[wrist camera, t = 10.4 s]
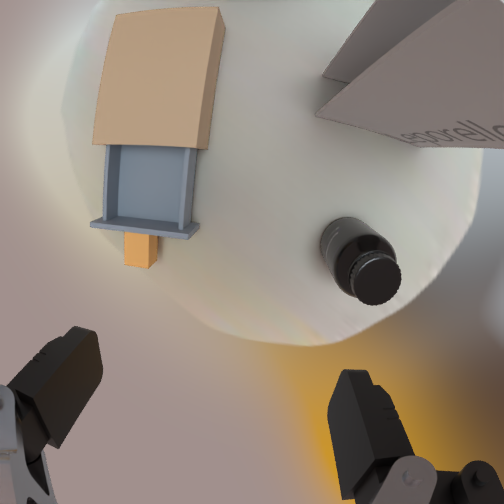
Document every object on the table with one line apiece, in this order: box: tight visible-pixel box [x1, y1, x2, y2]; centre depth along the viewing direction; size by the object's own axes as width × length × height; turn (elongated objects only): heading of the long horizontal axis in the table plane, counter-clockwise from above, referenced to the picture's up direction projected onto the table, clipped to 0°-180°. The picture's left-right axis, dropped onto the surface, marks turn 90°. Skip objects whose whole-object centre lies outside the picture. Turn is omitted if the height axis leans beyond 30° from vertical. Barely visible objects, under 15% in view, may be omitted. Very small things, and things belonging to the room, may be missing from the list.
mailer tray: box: [90, 145, 199, 269], centre depth 32 cm, size 20×12×5 cm, turn 173°
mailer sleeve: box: [92, 7, 225, 150], centre depth 28 cm, size 16×12×6 cm
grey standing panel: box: [315, 0, 504, 149], centre depth 17 cm, size 14×6×30 cm, turn 80°
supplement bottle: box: [321, 217, 401, 306], centre depth 30 cm, size 7×7×12 cm
